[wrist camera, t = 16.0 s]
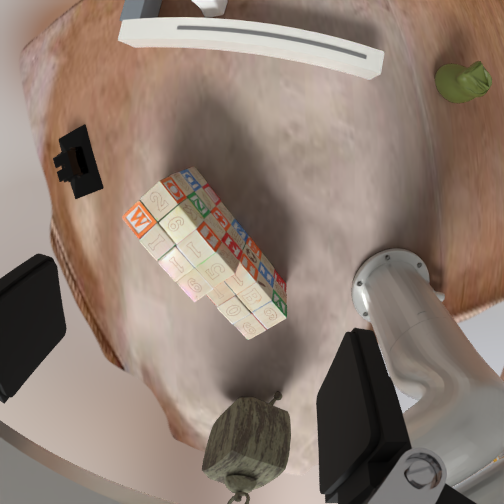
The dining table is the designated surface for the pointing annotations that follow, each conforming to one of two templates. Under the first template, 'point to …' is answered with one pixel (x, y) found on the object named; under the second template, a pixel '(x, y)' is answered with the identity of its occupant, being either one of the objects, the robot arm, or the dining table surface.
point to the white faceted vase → (211, 7)
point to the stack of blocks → (208, 251)
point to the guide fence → (245, 39)
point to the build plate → (78, 163)
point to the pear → (462, 82)
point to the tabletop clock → (248, 446)
